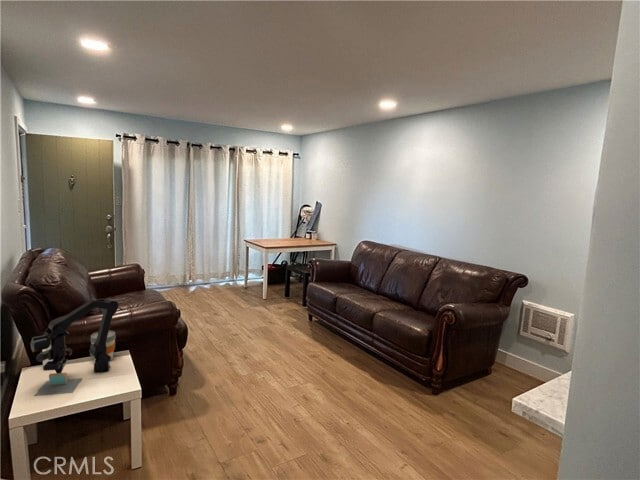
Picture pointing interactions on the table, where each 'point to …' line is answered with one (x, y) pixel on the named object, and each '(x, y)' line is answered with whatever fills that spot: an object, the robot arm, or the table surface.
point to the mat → (58, 387)
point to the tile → (58, 378)
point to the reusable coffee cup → (109, 342)
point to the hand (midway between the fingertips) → (59, 375)
